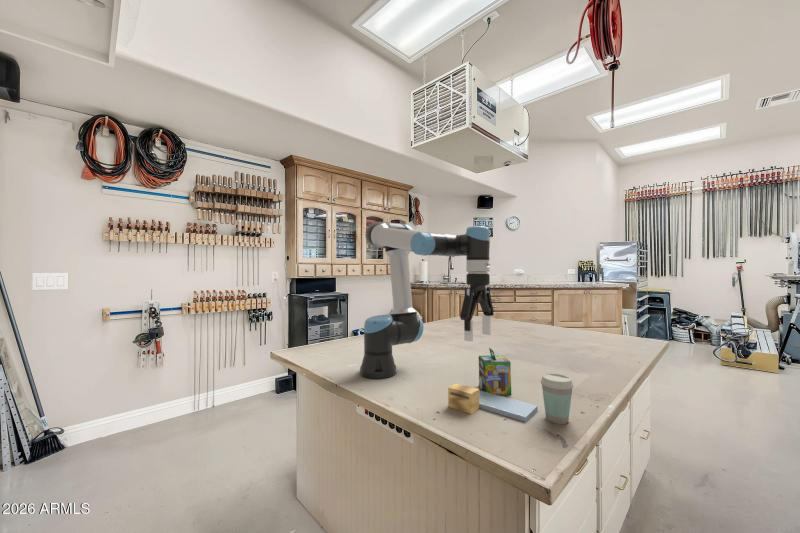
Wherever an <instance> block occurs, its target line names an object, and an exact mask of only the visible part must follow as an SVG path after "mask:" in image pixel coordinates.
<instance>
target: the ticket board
mask: <svg viewBox="0 0 800 533" xmlns="http://www.w3.org/2000/svg"><path fill="white" fill-rule="evenodd" d="M538 407H539V406H538V405H536V404H533V403H528V402H524V401H521V400H517V399H514V398H513V399H512V398H510V397H505V396H501V395H495V394H491V393H487V392H484V391H482V390H481V389H479V409H482V410H486V411H488V412H491V413H495V414H497V415H501V416H505V417H508V418H510V419H514V420H517V421H521V422H524V423H527V422H528V421H529V420H530V419H531V417H532V416H534V415H535V414H536V412H538V410H539V408H538Z"/></svg>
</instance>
